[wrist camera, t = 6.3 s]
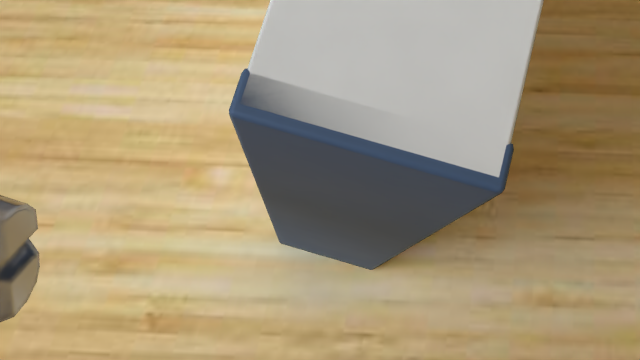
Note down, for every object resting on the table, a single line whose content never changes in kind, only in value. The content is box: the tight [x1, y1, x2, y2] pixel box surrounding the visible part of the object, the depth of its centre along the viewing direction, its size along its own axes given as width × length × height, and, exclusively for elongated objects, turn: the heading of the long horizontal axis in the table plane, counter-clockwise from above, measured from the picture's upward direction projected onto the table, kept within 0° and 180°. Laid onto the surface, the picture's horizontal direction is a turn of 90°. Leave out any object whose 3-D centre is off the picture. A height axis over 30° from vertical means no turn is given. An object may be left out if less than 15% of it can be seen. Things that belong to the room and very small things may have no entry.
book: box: [229, 0, 544, 270], centre depth 14 cm, size 3×9×13 cm, turn 164°
